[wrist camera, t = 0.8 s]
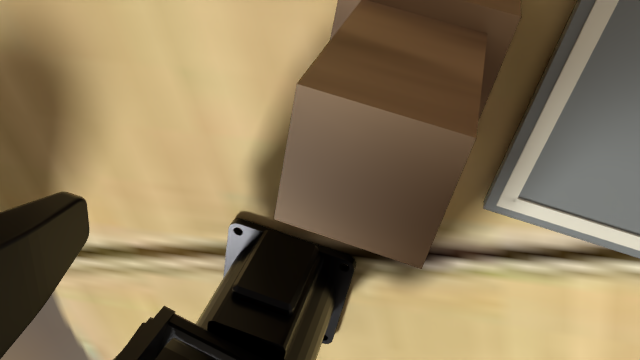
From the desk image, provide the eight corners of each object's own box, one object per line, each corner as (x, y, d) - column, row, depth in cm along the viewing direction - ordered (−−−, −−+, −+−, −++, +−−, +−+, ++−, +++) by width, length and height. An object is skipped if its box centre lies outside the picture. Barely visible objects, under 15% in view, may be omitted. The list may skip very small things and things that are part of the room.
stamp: (464, 133, 21) (441, 298, 14) (331, 92, 22) (244, 231, 15) (520, -6, 18) (526, 117, 11) (361, -49, 19) (268, 42, 12)
